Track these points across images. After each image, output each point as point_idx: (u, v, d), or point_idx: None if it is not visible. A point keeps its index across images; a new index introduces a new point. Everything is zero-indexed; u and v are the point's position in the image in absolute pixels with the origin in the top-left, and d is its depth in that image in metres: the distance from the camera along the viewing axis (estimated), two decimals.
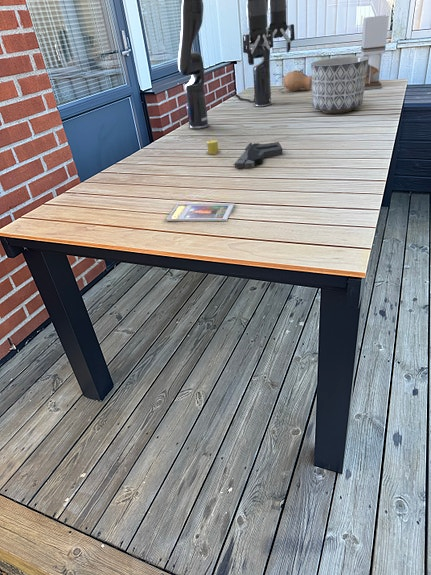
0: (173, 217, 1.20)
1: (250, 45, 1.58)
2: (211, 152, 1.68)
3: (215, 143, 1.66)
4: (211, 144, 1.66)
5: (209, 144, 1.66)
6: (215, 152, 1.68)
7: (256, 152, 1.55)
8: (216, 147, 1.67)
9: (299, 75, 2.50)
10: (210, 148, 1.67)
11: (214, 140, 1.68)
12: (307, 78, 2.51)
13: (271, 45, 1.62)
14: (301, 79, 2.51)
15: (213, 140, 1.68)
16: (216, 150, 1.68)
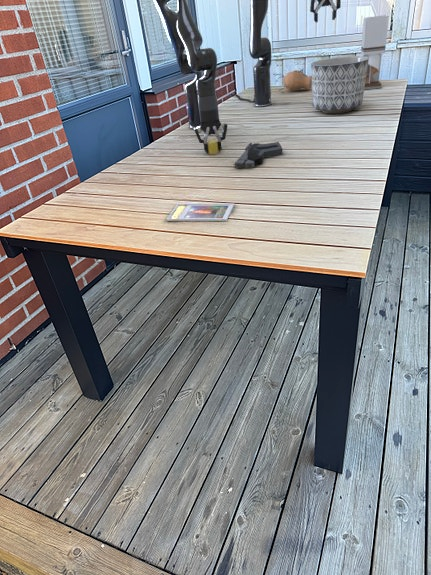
0: (173, 217, 1.20)
1: (218, 134, 1.66)
2: (211, 152, 1.68)
3: (215, 143, 1.66)
4: (211, 144, 1.66)
5: (209, 144, 1.66)
6: (215, 152, 1.68)
7: (256, 152, 1.55)
8: (216, 147, 1.67)
9: (299, 75, 2.50)
10: (210, 148, 1.67)
11: (214, 140, 1.68)
12: (307, 78, 2.51)
13: None
14: (301, 79, 2.51)
15: (213, 140, 1.68)
16: (216, 150, 1.68)
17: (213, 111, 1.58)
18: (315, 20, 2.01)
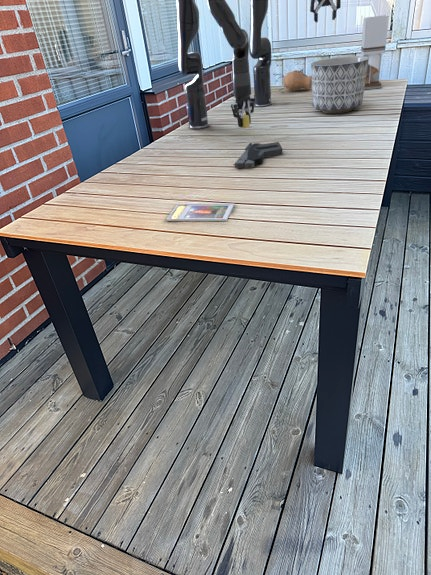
0: (173, 217, 1.20)
1: None
2: (246, 125, 1.83)
3: (248, 116, 1.82)
4: (246, 117, 1.81)
5: (244, 118, 1.81)
6: (249, 125, 1.84)
7: (256, 152, 1.55)
8: None
9: (299, 75, 2.50)
10: (245, 122, 1.82)
11: (244, 115, 1.84)
12: (307, 78, 2.51)
13: None
14: (301, 79, 2.51)
15: (243, 115, 1.84)
16: None
17: (250, 86, 1.75)
18: (315, 20, 2.01)
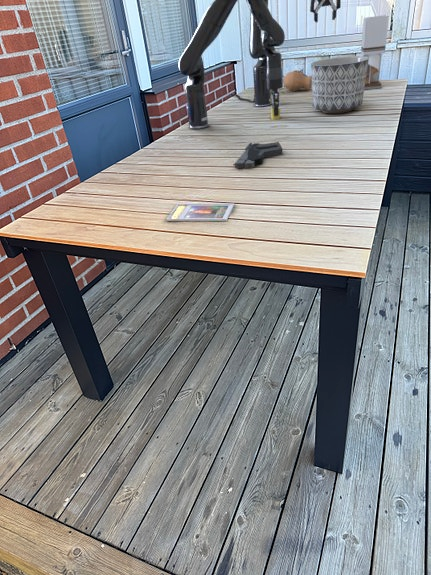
0: (173, 217, 1.20)
1: None
2: (279, 116, 2.05)
3: None
4: (279, 109, 2.04)
5: (279, 110, 2.03)
6: None
7: (256, 152, 1.55)
8: None
9: (299, 75, 2.50)
10: (279, 113, 2.04)
11: (273, 108, 2.05)
12: (307, 78, 2.51)
13: (273, 105, 1.98)
14: (301, 79, 2.51)
15: (273, 108, 2.05)
16: None
17: None
18: (315, 20, 2.01)
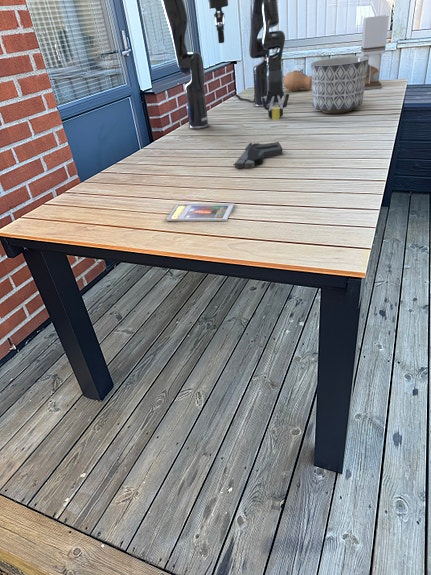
0: (173, 217, 1.20)
1: None
2: (279, 116, 2.05)
3: None
4: (279, 109, 2.04)
5: (279, 110, 2.03)
6: None
7: (256, 152, 1.55)
8: None
9: (299, 75, 2.50)
10: (279, 113, 2.04)
11: (273, 108, 2.05)
12: (307, 78, 2.51)
13: None
14: (301, 79, 2.51)
15: (273, 108, 2.05)
16: None
17: None
18: (269, 116, 2.05)
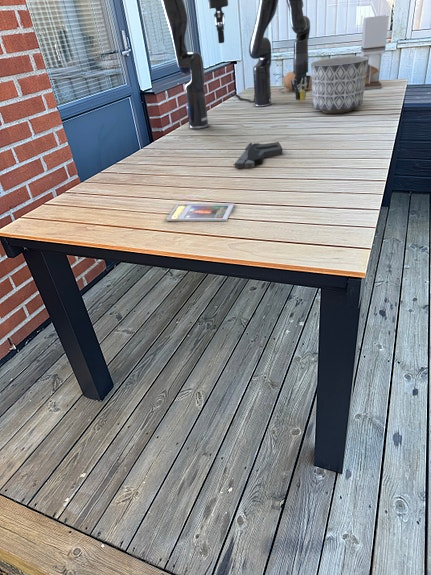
0: (173, 217, 1.20)
1: None
2: None
3: None
4: None
5: (304, 91, 2.16)
6: None
7: (256, 152, 1.55)
8: None
9: None
10: None
11: None
12: None
13: None
14: None
15: None
16: None
17: None
18: (298, 98, 2.16)
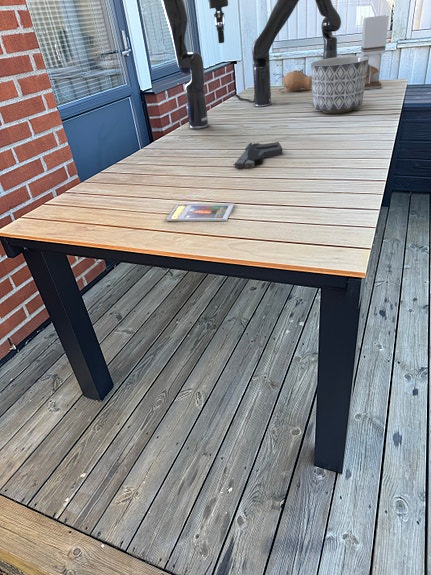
0: (173, 217, 1.20)
1: None
2: None
3: None
4: None
5: None
6: None
7: (256, 152, 1.55)
8: None
9: (299, 75, 2.50)
10: None
11: None
12: (307, 78, 2.51)
13: None
14: (301, 79, 2.51)
15: None
16: None
17: None
18: None
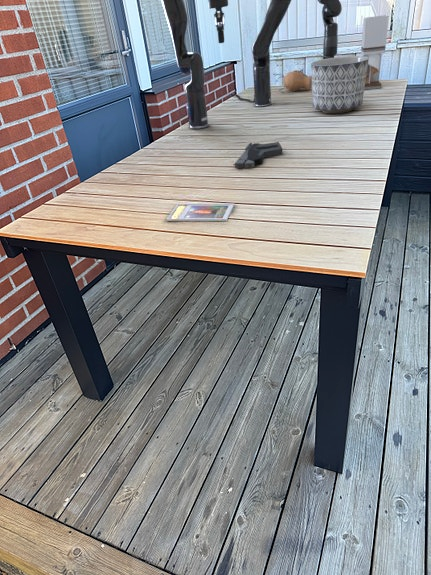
0: (173, 217, 1.20)
1: None
2: None
3: None
4: None
5: None
6: None
7: (256, 152, 1.55)
8: None
9: (299, 75, 2.50)
10: None
11: None
12: (307, 78, 2.51)
13: None
14: (301, 79, 2.51)
15: None
16: None
17: None
18: None
